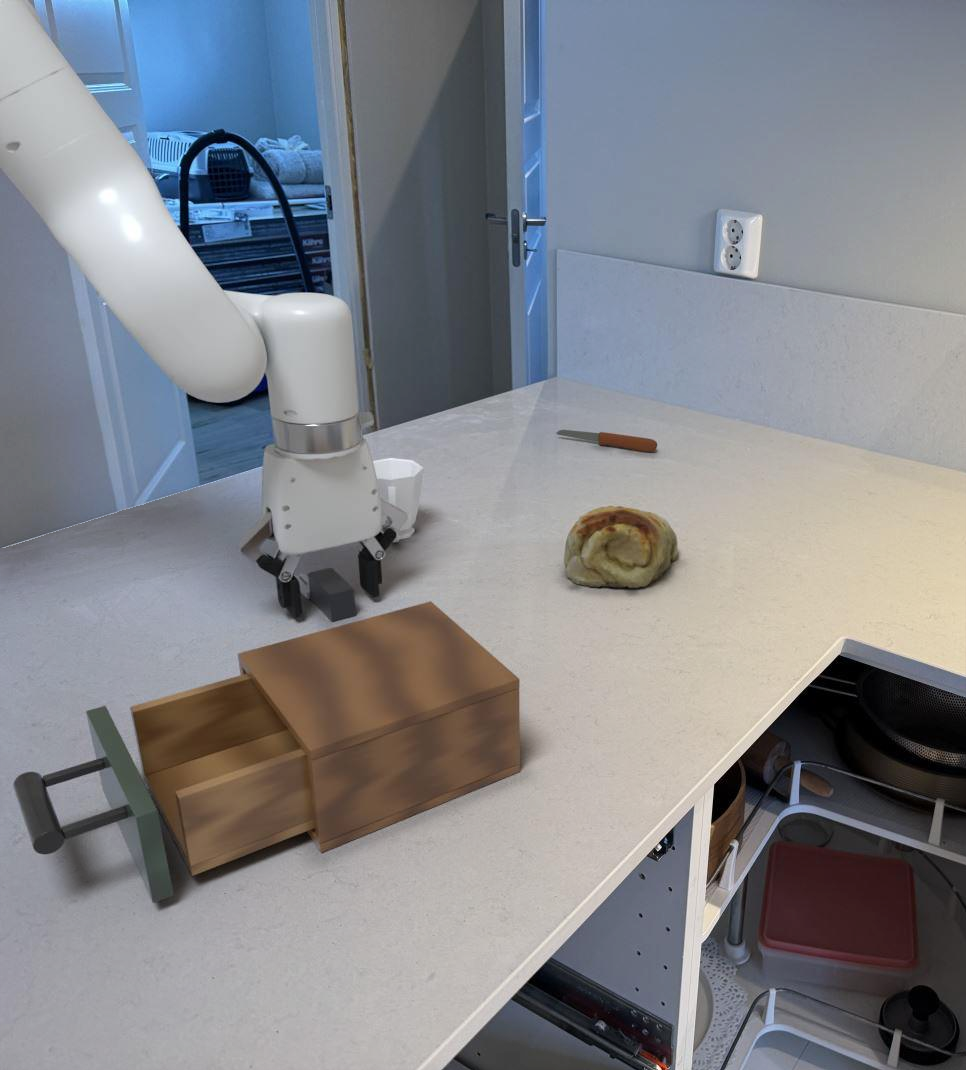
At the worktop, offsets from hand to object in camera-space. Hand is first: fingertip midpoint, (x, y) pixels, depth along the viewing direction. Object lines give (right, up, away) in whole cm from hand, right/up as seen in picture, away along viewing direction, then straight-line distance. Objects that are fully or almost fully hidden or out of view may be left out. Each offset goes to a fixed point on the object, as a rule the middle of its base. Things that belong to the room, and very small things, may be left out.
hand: (332, 600), depth 98 cm
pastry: (+28, +3, +14) cm, 31 cm away
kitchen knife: (+22, +20, +51) cm, 59 cm away
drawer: (+2, -13, -29) cm, 32 cm away
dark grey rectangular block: (-2, 0, +2) cm, 2 cm away
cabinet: (+12, -11, -21) cm, 26 cm away
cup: (+1, +6, +16) cm, 17 cm away
